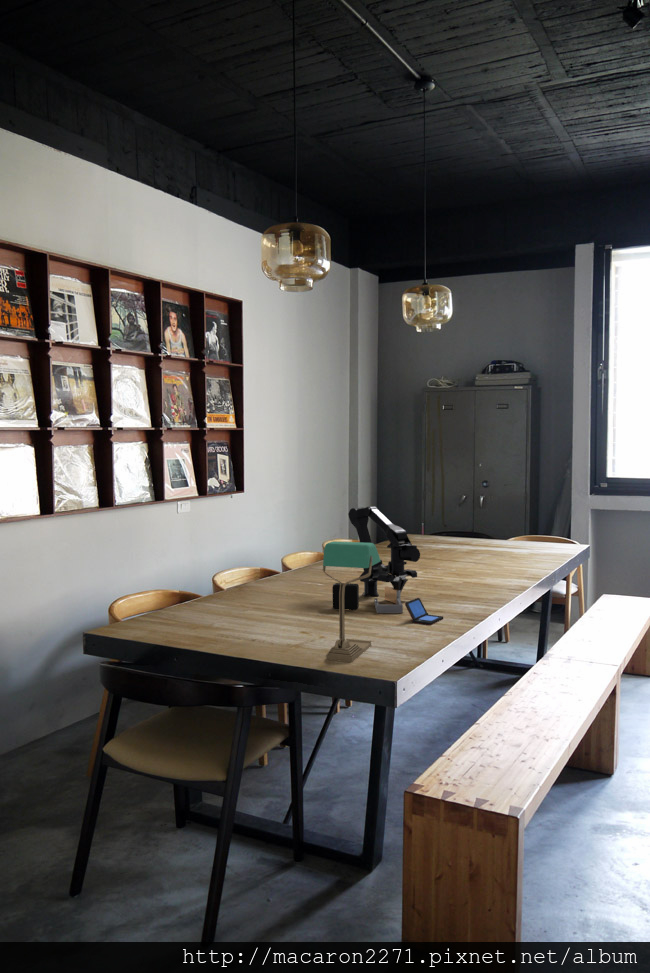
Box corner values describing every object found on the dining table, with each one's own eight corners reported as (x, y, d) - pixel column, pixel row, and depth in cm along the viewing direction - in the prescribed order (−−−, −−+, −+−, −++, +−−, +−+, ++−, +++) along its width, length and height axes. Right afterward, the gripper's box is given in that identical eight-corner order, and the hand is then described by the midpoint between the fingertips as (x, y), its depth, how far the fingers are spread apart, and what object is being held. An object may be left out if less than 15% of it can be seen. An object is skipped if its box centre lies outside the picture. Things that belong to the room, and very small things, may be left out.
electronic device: (357, 610, 301) (357, 585, 300) (332, 609, 303) (332, 584, 302) (358, 608, 305) (358, 583, 305) (334, 607, 307) (334, 582, 307)
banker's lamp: (315, 658, 234) (314, 546, 232) (338, 641, 254) (337, 538, 252) (363, 663, 229) (362, 548, 227) (383, 645, 248) (382, 539, 246)
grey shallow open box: (374, 605, 310) (374, 598, 310) (398, 605, 310) (398, 598, 310) (377, 613, 296) (377, 605, 296) (402, 612, 296) (402, 605, 296)
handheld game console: (430, 626, 275) (430, 605, 275) (404, 622, 281) (403, 602, 281) (444, 619, 286) (444, 599, 285) (418, 616, 292) (418, 596, 291)
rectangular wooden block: (401, 604, 311) (401, 590, 310) (397, 604, 310) (397, 591, 310) (387, 599, 321) (387, 586, 320) (384, 599, 320) (384, 586, 320)
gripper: (398, 554, 330) (399, 590, 331) (368, 559, 318) (368, 596, 319) (418, 557, 322) (418, 594, 323) (387, 562, 309) (387, 600, 310)
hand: (397, 595), depth 319 cm, fingers closed
